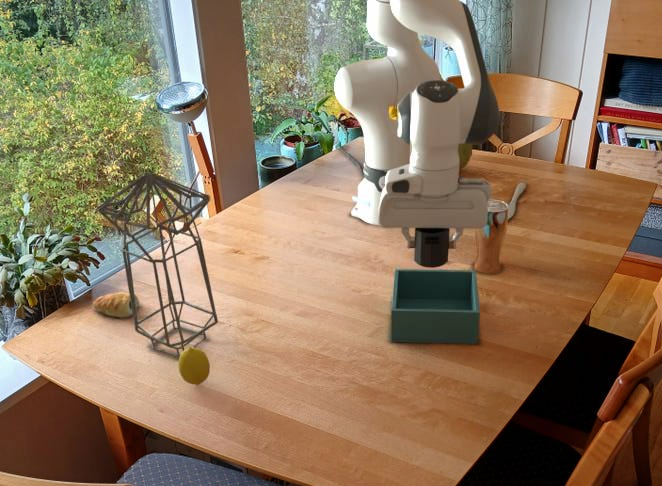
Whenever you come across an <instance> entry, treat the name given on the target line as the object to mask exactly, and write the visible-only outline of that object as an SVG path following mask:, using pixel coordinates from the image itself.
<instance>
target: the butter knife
mask: <svg viewBox="0 0 662 486" xmlns="http://www.w3.org/2000/svg"><path fill="white" fill-rule="evenodd" d="M526 187H527V184H526V183H525V182H520V183H518V184H517V186H516V188H515V190H514V193H513V196H512V198H511V200H510V202H509V203H508V220H509V219H511V218H512V217H513V216H514V214H515V211H516V204H517V199H519V197H520V195H522V193H523V192H524V190H526Z"/></svg>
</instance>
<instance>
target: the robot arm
mask: <svg viewBox="0 0 662 486" xmlns="http://www.w3.org/2000/svg"><path fill="white" fill-rule="evenodd" d="M366 14H367V15H366V29H367V32H368V34H369V36H370V37H371V38H372V39H373V41H375V42H377V43H378V44H381V45H383V46H385V47H387V54H386V56H384V57H377V58H372V59H365V60H364V59H363V60H358V61H355V62H352V63H350V64H347V65H345V66H341V68H340V69H339V70H338V72H337V73H336V75H335V78H334V79H335V80H334V86H333V87H334V93H335V97H336V99H337V101H338V103H339V104H340V106H342V108H344V109H345V110H346V111H348V112H349V113H351V114H352V115H353V116H354V117H355V118H356V120H357V122H358V123H359V125H360V127H361V129H362V133H363V142H364V154H365V155H364V156H365V161H364V162H363V167H362V166H361V164H360V162H358V161H357V159H355V158H354V157H353V156H351V154H350V153H348V152H346V151H345V149H343V148H342V142H341V141H339V142H338V143H337V145H338V149H339V151H340V152H341V153H342V154H344V155H345V156H346V157H347V158H348V159H350V160H351V161H352V162H353V163H354V165H356V166H357V168H358V169H359V172H360V175H361V177H362V179H363V180H362V181H361V182H360V183H359V184H358V187H357V196H352V200H353V201H354V202H356V204H355V205H354V207H353V208H352V210H351V213H350V214H351V215H350V216H352V217H355V218H358V219H361V220H362V221H363V222H366V223H367V224H370V225H374V226H380V227H381V228H383V229H384V228H386V229H387V228H388V229H389V228H391V229H393V228H394V229H401V234H402V236H403V238H405V239H404V240H406V244H407V245H406V248H407V249H415V236H412V235H411V234H410V229H415V228H450V229H454V230H455V233H454V234H453V236H449V250H456V249H457V242H458V241H459V239H460V238H461V236H463V234H464V229H475V228H477V229H481V228H484V227H485V226H486V225H487V222H488V210H487V201H488V200H490V199H491V197H492V190H493V188H492V187H493V186H492V184H491V182H490V181H488V180H487V179H485V178H483V177H460V170H459V162H460V159H459V155H458V146H459V144H460V143H464V144H473V145H475V146H476V145H477V146H482V145H483V144H485V143H486V142H487V141H488V140H490V139H491V138H492V137H493V135H494V134H496V132H497V130H498V129H499V125H500V108H499V103H498V100H497V99H498V98H497V96H496V93H495V91H494V89H493V85H492V83H491V81H490V76H489V73H488V71H487V70H488V69H487V66H486V63H485V62H486V61H485V59H484V58H485V57H484V54H483V51H482V46H481V42H480V38H479V35H478V32H477V29H476V25H475V22H474V18H473V15H472V13H471V11H470V8H469V7H468V4H466V3H465V2H463V1H461V0H367V12H366ZM419 34H421V35H424V36H427V37H430V38H434V39H436V40H438V41H441V42H442V43H444V44H446V45H448V46H449V47H450V48H451V49H452V50H453V52H454V53H455V56H456V59H457V63H458V67H459V71H460V76H461V79H462V83H463V88H458V86H457V85H455V84H454V83H452V82H450V81H447V80H441V73H440V69H439V66H438V63H437V62H436V60H435V59H434V58H433V57H432V56H431V55H429V53H427V52H426V51H425V50H424V48H423V46H422V45H421V42H420V39H419ZM391 107H397V114H398V115H397V119H394V118H391V116H390V108H391Z"/></svg>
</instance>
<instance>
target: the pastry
mask: <svg viewBox="0 0 662 486" xmlns="http://www.w3.org/2000/svg"><path fill="white" fill-rule="evenodd" d="M134 295H135V303H136V308H137V307H139V305H140V299H139V297H138V295H137V294H135V293H134ZM92 306H93V308H94V309H95V310H96V311H97V312H99V313H101V314H105V315H106V316H109V317H115V318H116V317H118V318H119V319H120V318H122V319H123V318H128V317H131V316H132V315H133V313H132V307H131V301H130V295H129V292H122V291H118V292H116V293H108V294H105V295H101V296H99V297H98V298H96V299H95V300H93V301H92Z"/></svg>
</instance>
